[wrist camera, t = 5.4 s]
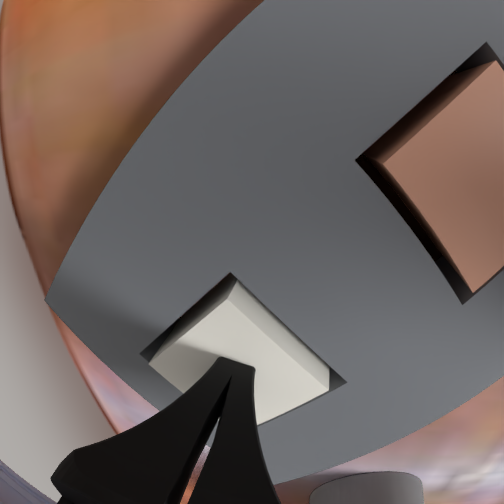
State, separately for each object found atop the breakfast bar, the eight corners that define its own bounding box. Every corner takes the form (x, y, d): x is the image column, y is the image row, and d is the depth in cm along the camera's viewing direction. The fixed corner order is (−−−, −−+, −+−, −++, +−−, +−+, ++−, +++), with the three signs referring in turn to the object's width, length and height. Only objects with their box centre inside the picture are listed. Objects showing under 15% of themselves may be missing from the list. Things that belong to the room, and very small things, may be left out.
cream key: (330, 328, 14) (328, 390, 10) (255, 375, 16) (237, 433, 12) (253, 251, 13) (227, 298, 10) (184, 313, 15) (148, 364, 12)
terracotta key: (512, 175, 10) (568, 196, 6) (436, 247, 12) (472, 293, 8) (447, 76, 9) (495, 60, 5) (362, 153, 11) (383, 164, 7)
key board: (581, 228, 9) (620, 253, 6) (282, 441, 18) (273, 484, 15) (391, -51, 7) (406, -93, 4) (85, 270, 16) (44, 300, 13)
